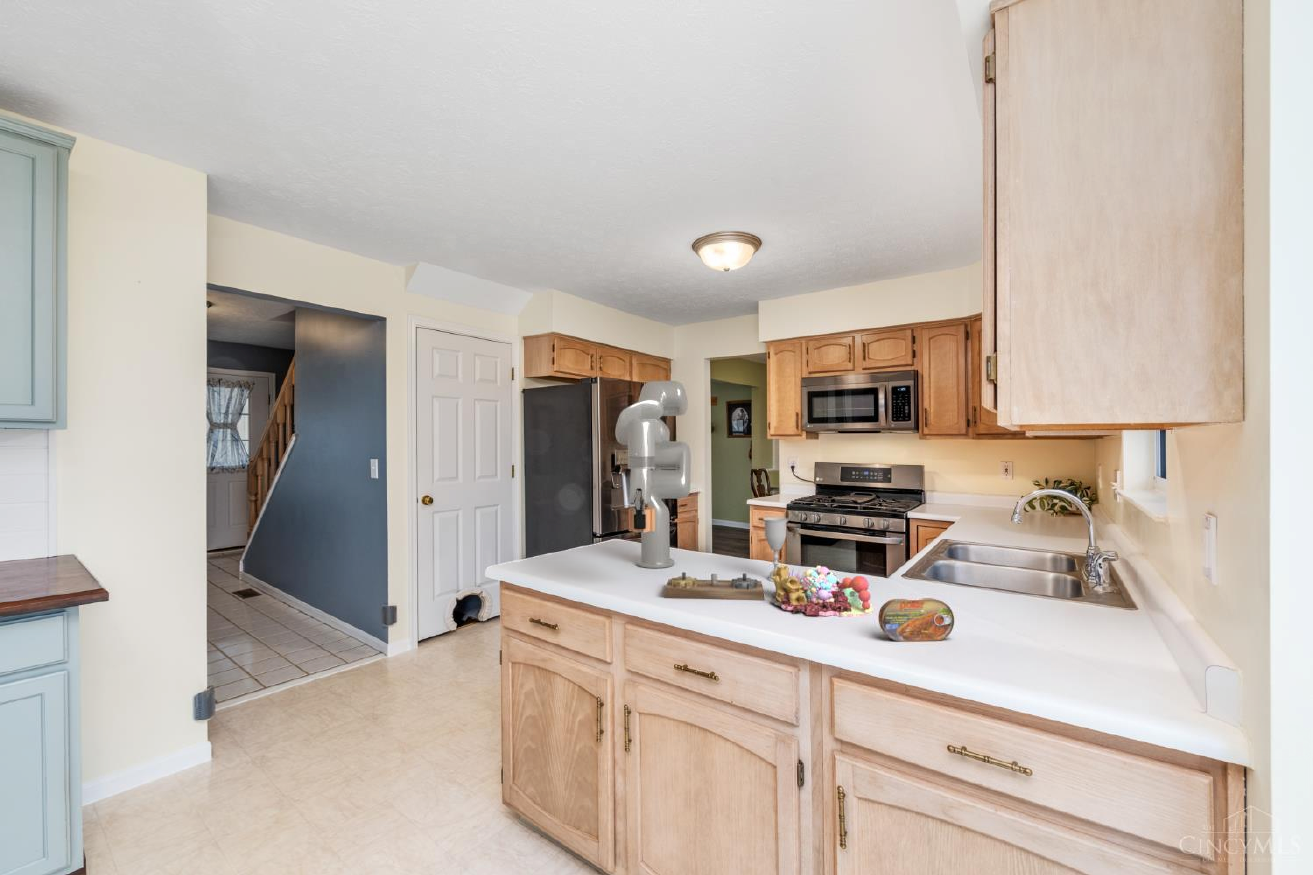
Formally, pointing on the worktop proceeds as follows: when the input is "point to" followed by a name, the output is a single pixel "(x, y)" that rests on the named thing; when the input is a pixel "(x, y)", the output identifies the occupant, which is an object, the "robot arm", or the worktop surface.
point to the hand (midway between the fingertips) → (641, 526)
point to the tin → (916, 619)
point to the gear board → (714, 588)
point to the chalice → (775, 537)
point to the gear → (649, 520)
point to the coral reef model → (821, 593)
